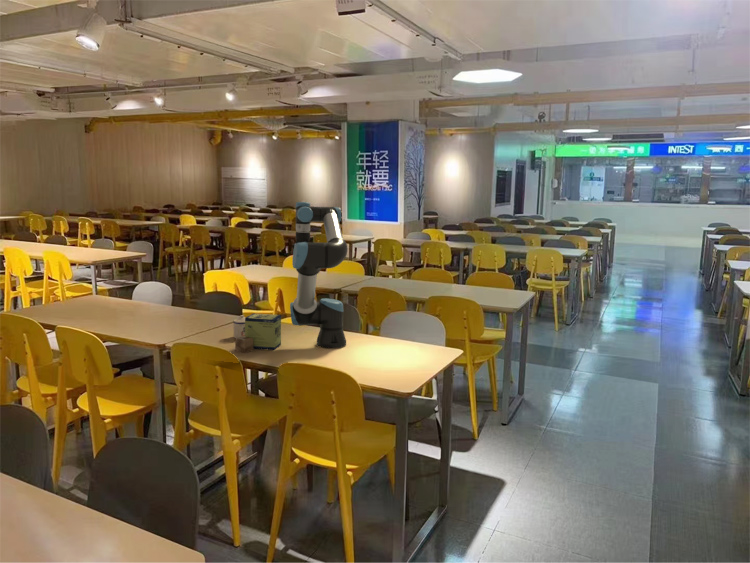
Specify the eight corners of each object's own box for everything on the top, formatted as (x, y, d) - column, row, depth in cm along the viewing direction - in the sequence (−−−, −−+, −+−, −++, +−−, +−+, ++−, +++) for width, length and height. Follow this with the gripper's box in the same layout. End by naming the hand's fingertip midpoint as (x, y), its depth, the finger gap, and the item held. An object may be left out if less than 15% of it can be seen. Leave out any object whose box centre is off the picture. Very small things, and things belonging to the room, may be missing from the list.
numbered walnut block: (253, 350, 277) (253, 337, 276) (244, 353, 272) (244, 340, 271) (244, 348, 280) (243, 335, 279) (235, 351, 275) (235, 338, 274)
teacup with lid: (243, 340, 294) (242, 318, 293) (229, 337, 299) (229, 316, 297) (258, 335, 305) (258, 314, 303) (245, 332, 309) (244, 312, 307)
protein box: (275, 350, 278) (274, 319, 275) (244, 348, 280) (244, 317, 277) (281, 344, 288) (281, 314, 285) (252, 342, 290) (252, 313, 288)
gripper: (288, 231, 296) (288, 276, 300) (308, 233, 290) (308, 278, 293) (297, 230, 302) (297, 274, 306) (317, 232, 296) (317, 276, 300)
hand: (302, 276), depth 300 cm, fingers closed
